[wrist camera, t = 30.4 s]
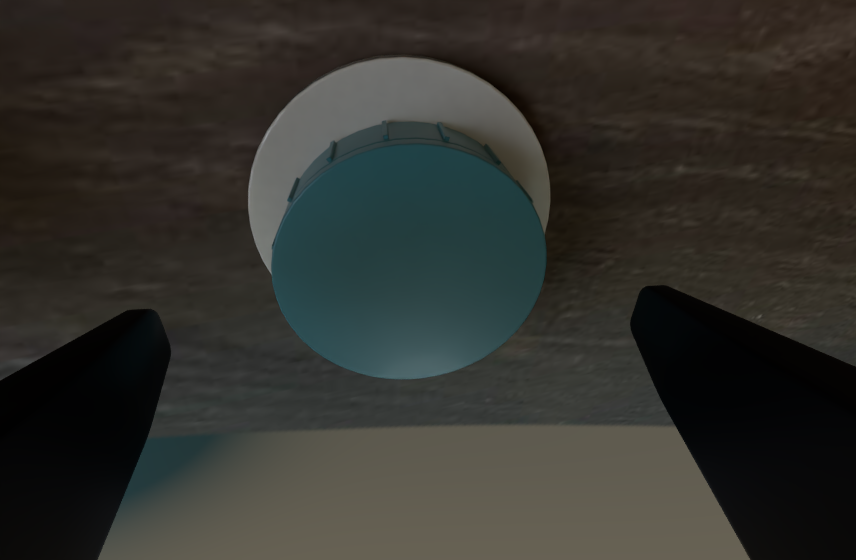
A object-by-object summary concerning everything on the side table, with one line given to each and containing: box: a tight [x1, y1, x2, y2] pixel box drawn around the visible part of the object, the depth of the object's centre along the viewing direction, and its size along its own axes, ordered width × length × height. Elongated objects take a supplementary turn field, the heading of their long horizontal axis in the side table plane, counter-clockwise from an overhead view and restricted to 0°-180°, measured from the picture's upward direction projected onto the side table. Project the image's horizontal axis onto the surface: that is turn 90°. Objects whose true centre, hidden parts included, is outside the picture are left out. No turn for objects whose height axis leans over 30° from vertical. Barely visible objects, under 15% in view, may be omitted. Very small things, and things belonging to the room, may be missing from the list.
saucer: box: [248, 54, 551, 275], centre depth 12 cm, size 8×8×1 cm
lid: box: [271, 120, 547, 379], centre depth 12 cm, size 7×7×2 cm
